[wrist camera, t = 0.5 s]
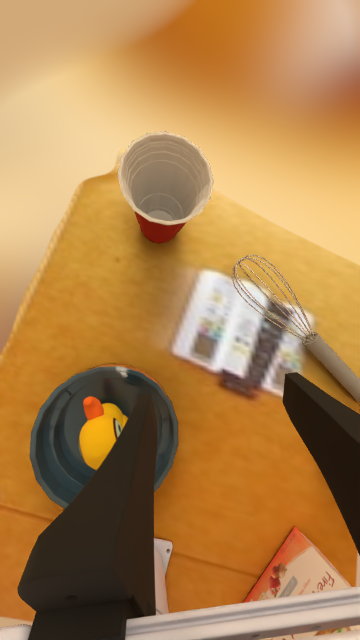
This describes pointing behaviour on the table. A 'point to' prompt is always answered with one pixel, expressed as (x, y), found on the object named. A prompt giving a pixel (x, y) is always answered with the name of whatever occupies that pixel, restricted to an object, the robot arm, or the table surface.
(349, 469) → the robot arm
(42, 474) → the bowl
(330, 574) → the cracker box
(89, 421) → the duckling
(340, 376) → the kitchen whisk
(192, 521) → the table surface
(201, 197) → the plastic cup
